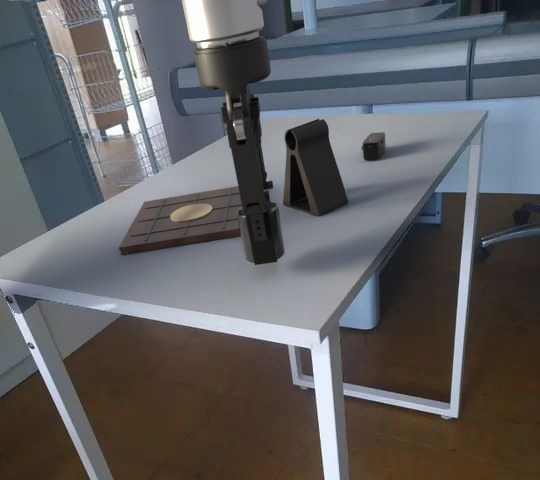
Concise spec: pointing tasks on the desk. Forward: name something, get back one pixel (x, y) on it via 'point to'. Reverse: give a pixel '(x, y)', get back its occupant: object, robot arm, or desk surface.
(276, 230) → the dark grey canister
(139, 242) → the grid board
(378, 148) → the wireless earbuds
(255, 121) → the robot arm
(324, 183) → the black triangular stand
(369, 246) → the desk surface
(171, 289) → the desk surface
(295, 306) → the desk surface
